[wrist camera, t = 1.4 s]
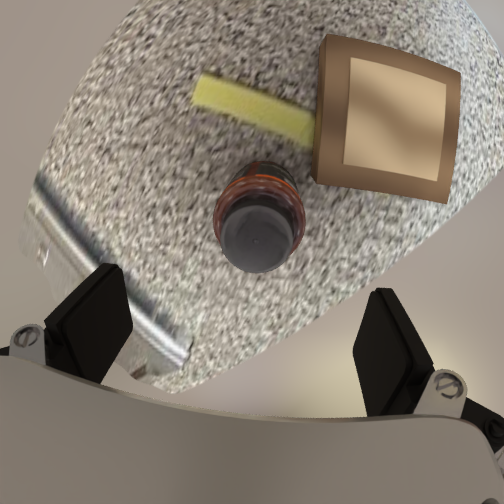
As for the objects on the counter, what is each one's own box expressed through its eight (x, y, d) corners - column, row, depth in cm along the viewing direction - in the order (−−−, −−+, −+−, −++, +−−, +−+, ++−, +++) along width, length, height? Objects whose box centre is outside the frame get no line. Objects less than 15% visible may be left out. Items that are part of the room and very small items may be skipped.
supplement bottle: (225, 215, 27) (192, 274, 17) (239, 153, 24) (210, 173, 14) (287, 230, 27) (291, 299, 17) (305, 170, 24) (325, 203, 14)
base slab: (319, 46, 19) (327, 32, 15) (438, 76, 19) (462, 72, 15) (310, 175, 24) (316, 184, 21) (427, 192, 24) (448, 205, 20)
